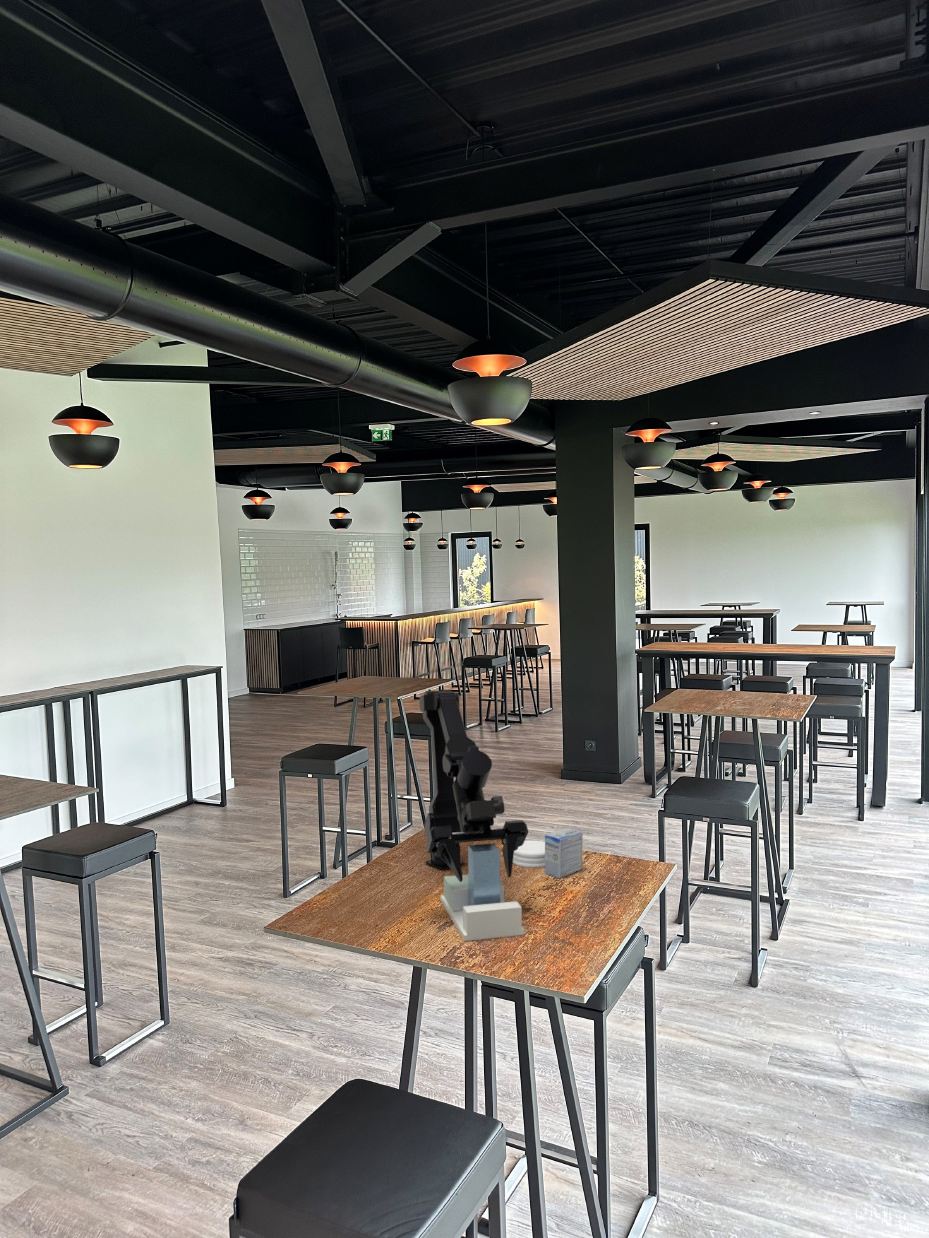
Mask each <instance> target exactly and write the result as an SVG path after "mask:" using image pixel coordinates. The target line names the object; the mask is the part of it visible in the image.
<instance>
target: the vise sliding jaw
mask: <svg viewBox="0 0 929 1238" xmlns="http://www.w3.org/2000/svg"><path fill="white" fill-rule="evenodd" d="M462 877H463V880H462V882H460V881H459V880H458V879H457V877H456V876H455V875H446V876H443V895H444V897H445V899H446V900H447V902H448V904H449V905H450V907H451V909H452V911H453V912H454V911H463V906H469V904H468V874H462ZM503 902H505V885H504V884H503V883H502V882H501V881H500V903H503Z"/></svg>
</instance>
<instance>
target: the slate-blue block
mask: <svg viewBox="0 0 929 1238" xmlns="http://www.w3.org/2000/svg"><path fill="white" fill-rule="evenodd" d="M467 848H468V849H467V858H468V860H467V863H468V865H467V868H468V872H467V875H468V904H469V906H472V905H483V904H493V903H500V882H501V849H500V848H499V846H497V845H496V843H483V844H471V845H470V844H469V845H467Z"/></svg>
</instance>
